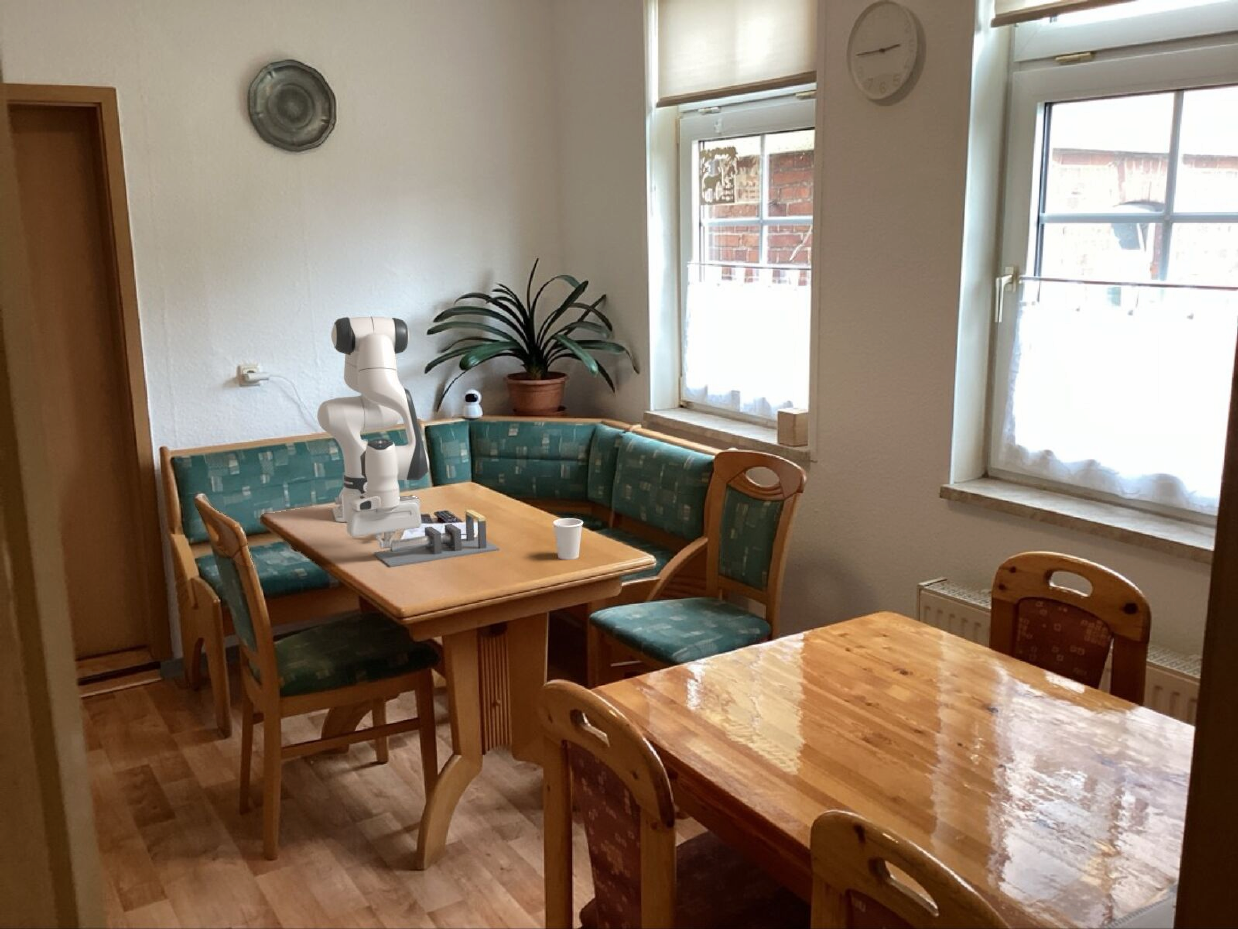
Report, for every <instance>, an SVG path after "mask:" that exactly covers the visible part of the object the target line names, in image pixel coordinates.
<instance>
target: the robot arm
mask: <svg viewBox="0 0 1238 929" xmlns="http://www.w3.org/2000/svg"><path fill="white" fill-rule="evenodd" d="M330 336H331V342H332V344H333V347H334V349H335V350H336V351H337V352H338V353H340V354H344V368H343V370H344V371H343V379H344V383H345V384H346V386H347V387H348V388H349V389H351V390H352V391H354V392H356V393H359V394H360V395H357V396H346V397H334V398H333V399H328V400H325V401H322V402H321V404H320V406H319V408H318V411H317V414H316V415H317V416H316V417H317V422H318V424H319V426H320V427H321V429H322V430H323V431H324V432H326V433H327V434H329V435H330V436H331V437H333V438H334V439H335V440H336V442H337V443H338V445H339V447H340V450H341V451H342V458H343V465H344V475H343V488H342V490H341V491H340V493H339V494H338V497H337V496H336V497H334V504H335V505H336V507H333V508H332V514H333V517H334V520H335V522H340V523H341V522H342V523H346V532H347V534H349V535H350V537H352V538H356V537H363V536H371V535H375V536H374V537H375V538H376V539H377V540H378V542H379V547H380V549H388V548H389V549H390V547H392V543H391V541H393V540H394V538H395V536H396V532H400V531H407V530H412V529H413V530H414V529H419V528H420V527H421V525H422V516H421V511H420V508H421V500H420V498H419V497H418V496H415V495H413V494H412V495H411V494H410V495H404V496H402V495H401V496H400V485H399V481H404V480H406V481H417V482H418V481H420V480H421V479H423V478H424V477H425V476H426V475H427V474H428V473H429V469H430V460H429V455H428V453H427V450H426V448H425V445H424V442H423V438H422V433H421V429H420V424H419V421H418V416H417V412H416V408H415V405H414V400H413V397H412V394H411V393H410V390H409V389H407V388H405V387H403V385H402V384H401V382H400V379H399V376H398V375H399V374H398V365H397V358H396V354H397V355H398V354H401V353H403V352H405V350H406V349H408V344H409V341H410V331H409V329H408V324H407V323H406V322H405V321H404V320H403V319H402V318H401V319H400V318H396V317H392V318H390V317H384V316H363V317H362V316H361V317H360V316H359V317H348V316H346V317H341V318H338V319H336V321H334V323H333V326H332V329H331V332H330ZM400 418H402V421H403V425H404V430H405V433H406V438H407V444H404V445H396V444H395V442H394V441H393V440H391V439H388V438H375V439H372V440H370V441H366V440H363V439H362V437H361V432H368V431H378V430H384V429H389V428H391V427H395V426H396V425H397V424H398V423H399V421H400ZM386 532H388V534H389V537H388V539H387V540H384V539H382V537H383V534H384V533H386Z"/></svg>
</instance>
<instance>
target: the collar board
mask: <svg viewBox="0 0 1238 929" xmlns="http://www.w3.org/2000/svg"><path fill="white" fill-rule="evenodd" d="M464 513H465V514H464V515H465V537H466V538H462V529H461V528H459V527H457V526H455V525H454V524H452V523H448V524H444V533H448V532H453V544H452V543H450V544H444V545H441V533H442V532H440V531H439V530H437V529H435V527H432V526H426V527H425V526H424V536H427V535H433V546H431V547H424V548H418V549H411V550H404V551H398V552H391V551H390V549H388V550H387V549H386V550H382V551H380V550H379V551H375V552H373V555H375V557H377V558H378V559H379V560H380V561H382V562H383V563H384V564H385V565H386V566H387V567H389V568H394V567H400V566H404V565H407V566H408V565H413V564H418V563H423V562H431V561H438V560H444V559H450V558H456V557H463V556H469V555H476V554H481V553H487V552H488V553H489V552H494V551H499V550H500V547H498V546H497V545H495V544H493V543H492V542H490V541H488V540H487V523H486V521H487V520H486V516H484V515H482V514H480V513H479V512H477V511H475V510H473V509H466V510H465V512H464ZM474 520H476V522H477V536H475V522H474Z"/></svg>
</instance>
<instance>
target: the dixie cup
mask: <svg viewBox="0 0 1238 929" xmlns="http://www.w3.org/2000/svg"><path fill="white" fill-rule="evenodd" d="M583 524H584V521H583V520H582V519H578V518H571V517H570V518H569V517H567V518H559V519H555V520H554V521H552V525H553V529H554V535H555V542H556V550H557V557H558V559H561V560H567V561H570V560H575V559H578V558H579V556H580V548H581V547H580V546H581V538H582V537H581V536H582V529H583Z"/></svg>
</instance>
